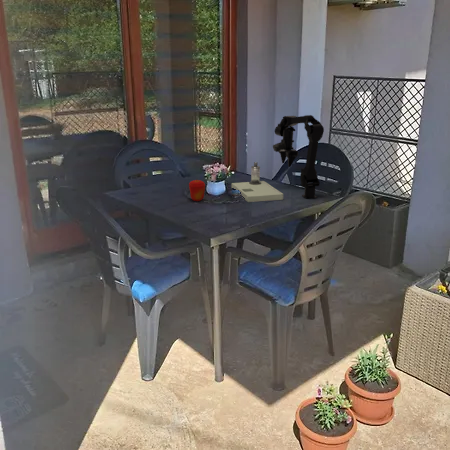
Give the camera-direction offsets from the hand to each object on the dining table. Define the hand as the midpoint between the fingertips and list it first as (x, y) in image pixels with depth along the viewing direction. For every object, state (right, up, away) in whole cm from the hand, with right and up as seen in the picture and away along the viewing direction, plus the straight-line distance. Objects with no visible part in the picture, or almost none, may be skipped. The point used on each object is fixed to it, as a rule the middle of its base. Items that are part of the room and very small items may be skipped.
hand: (286, 164), depth 287 cm
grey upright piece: (-18, -11, 0) cm, 21 cm away
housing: (-18, -17, -10) cm, 27 cm away
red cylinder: (-51, -22, -23) cm, 60 cm away
